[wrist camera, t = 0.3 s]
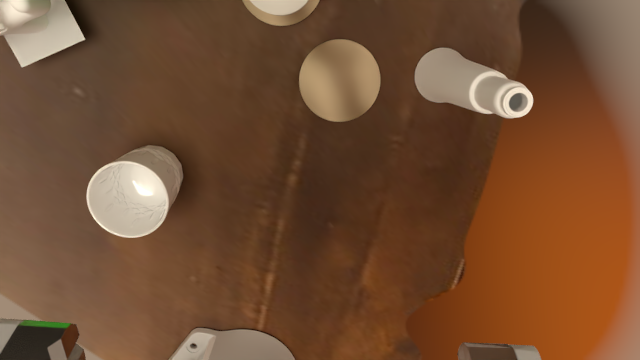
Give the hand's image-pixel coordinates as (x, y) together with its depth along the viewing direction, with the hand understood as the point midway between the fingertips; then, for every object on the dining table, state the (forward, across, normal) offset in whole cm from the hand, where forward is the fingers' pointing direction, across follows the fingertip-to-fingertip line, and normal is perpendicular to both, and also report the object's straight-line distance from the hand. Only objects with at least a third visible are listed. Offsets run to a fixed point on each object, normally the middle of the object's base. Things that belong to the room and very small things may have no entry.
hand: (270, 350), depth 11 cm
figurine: (+49, -27, -9) cm, 57 cm away
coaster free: (+48, +4, -14) cm, 50 cm away
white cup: (+44, -17, -25) cm, 54 cm away
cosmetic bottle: (+49, +15, -13) cm, 53 cm away
